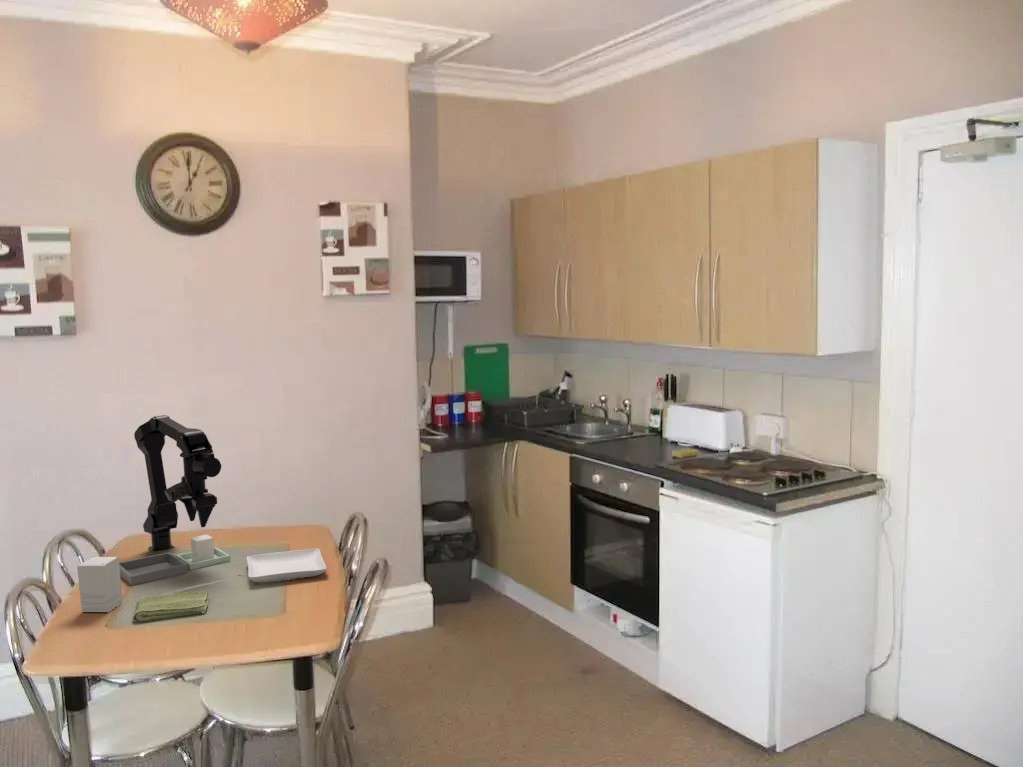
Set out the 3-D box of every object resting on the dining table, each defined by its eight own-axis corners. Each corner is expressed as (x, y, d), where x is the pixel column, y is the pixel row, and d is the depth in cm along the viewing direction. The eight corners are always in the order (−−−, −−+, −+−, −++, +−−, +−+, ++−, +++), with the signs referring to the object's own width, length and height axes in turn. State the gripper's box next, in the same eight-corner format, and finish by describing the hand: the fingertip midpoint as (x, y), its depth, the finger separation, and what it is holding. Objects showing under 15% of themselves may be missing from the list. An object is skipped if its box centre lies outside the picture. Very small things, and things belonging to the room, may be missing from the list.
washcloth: (208, 615, 216) (207, 603, 216) (132, 625, 210) (131, 613, 210) (209, 597, 228) (208, 586, 228) (137, 607, 223) (136, 595, 222)
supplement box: (123, 602, 225) (120, 556, 223) (107, 613, 218) (103, 565, 216) (97, 602, 226) (93, 556, 224) (80, 613, 218) (76, 565, 217)
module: (191, 560, 257) (190, 537, 256) (208, 556, 260) (207, 534, 260) (197, 564, 253) (196, 541, 253) (214, 560, 257) (213, 537, 256)
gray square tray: (115, 573, 249) (114, 563, 248) (170, 561, 258) (169, 552, 258) (131, 587, 237) (130, 576, 236) (188, 574, 246) (187, 564, 246)
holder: (176, 562, 258) (176, 555, 258) (215, 553, 265) (215, 546, 265) (190, 571, 249) (189, 564, 248) (230, 562, 256) (230, 555, 256)
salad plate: (319, 557, 261) (318, 546, 260) (327, 579, 241) (327, 567, 240) (246, 566, 254) (246, 555, 253) (249, 589, 234) (248, 577, 233)
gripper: (156, 472, 256) (159, 522, 258) (177, 482, 242) (180, 536, 244) (193, 466, 263) (196, 515, 265) (216, 476, 249) (219, 528, 251)
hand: (197, 523), depth 256 cm, fingers open, 9 cm apart
